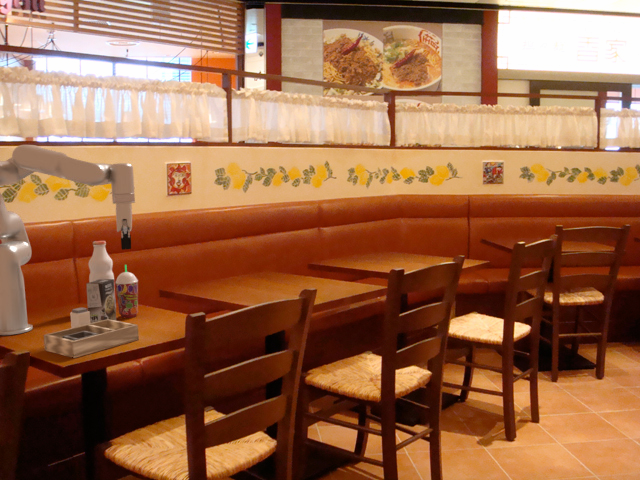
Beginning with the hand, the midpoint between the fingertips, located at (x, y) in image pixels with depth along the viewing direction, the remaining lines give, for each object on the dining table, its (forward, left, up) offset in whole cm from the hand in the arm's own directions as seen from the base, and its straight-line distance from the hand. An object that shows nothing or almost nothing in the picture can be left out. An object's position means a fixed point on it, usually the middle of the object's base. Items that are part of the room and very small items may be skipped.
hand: (126, 247), depth 233 cm
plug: (-7, -16, -29) cm, 33 cm away
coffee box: (-13, -3, -29) cm, 32 cm away
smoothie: (-15, +10, -29) cm, 34 cm away
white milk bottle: (-32, +11, -29) cm, 45 cm away
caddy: (+8, -22, -29) cm, 37 cm away
